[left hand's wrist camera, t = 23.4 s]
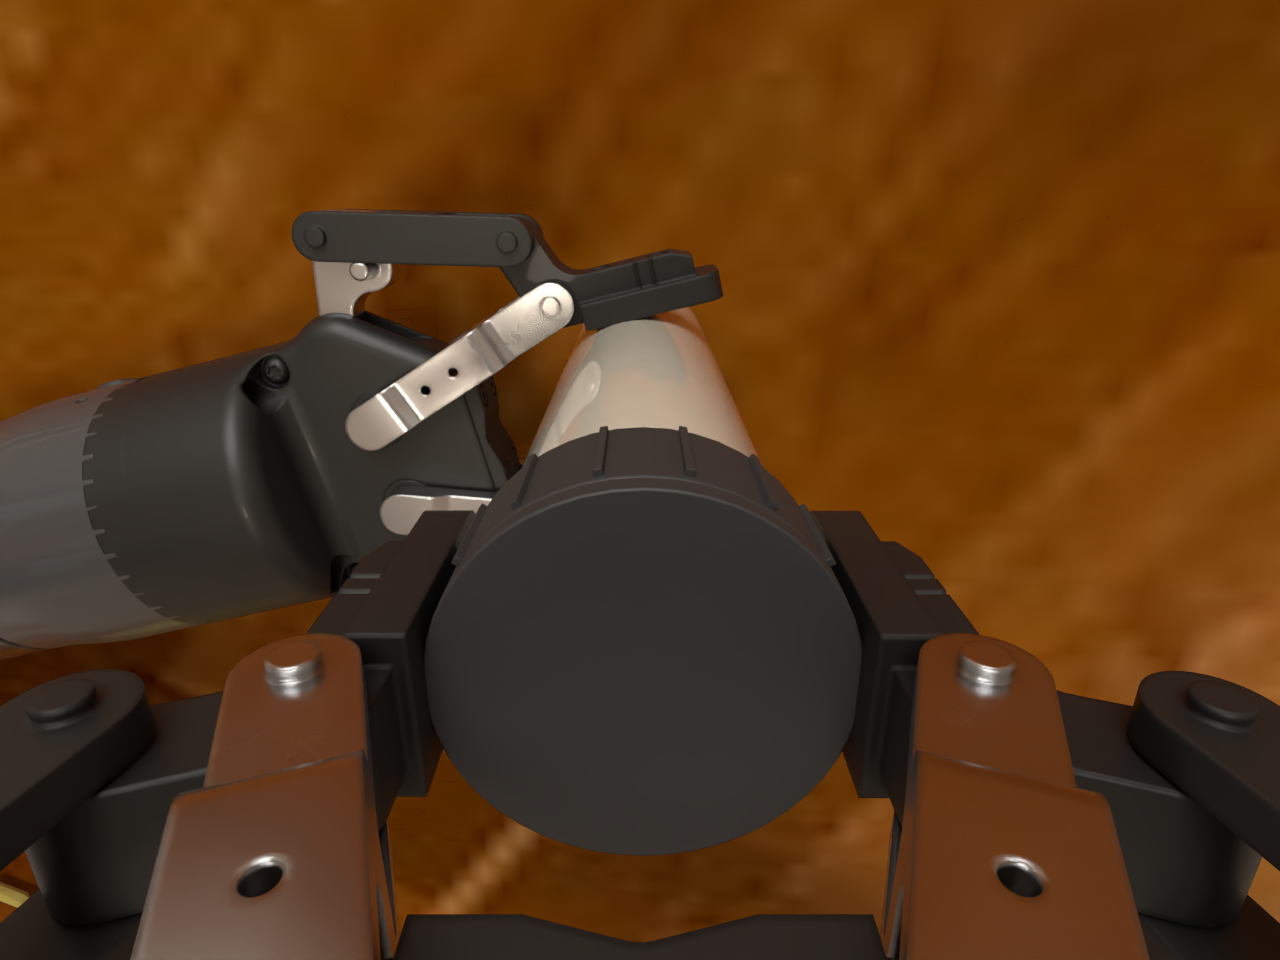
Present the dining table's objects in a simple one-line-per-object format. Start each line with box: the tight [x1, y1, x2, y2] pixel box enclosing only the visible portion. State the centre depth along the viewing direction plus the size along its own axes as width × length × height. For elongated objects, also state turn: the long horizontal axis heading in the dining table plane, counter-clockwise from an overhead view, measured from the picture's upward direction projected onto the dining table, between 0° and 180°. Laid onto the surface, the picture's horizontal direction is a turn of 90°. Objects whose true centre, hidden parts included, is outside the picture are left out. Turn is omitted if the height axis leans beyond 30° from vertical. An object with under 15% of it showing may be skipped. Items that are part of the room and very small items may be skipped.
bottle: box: [521, 307, 763, 469], centre depth 18 cm, size 5×5×19 cm
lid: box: [424, 426, 862, 856], centre depth 10 cm, size 5×5×2 cm
